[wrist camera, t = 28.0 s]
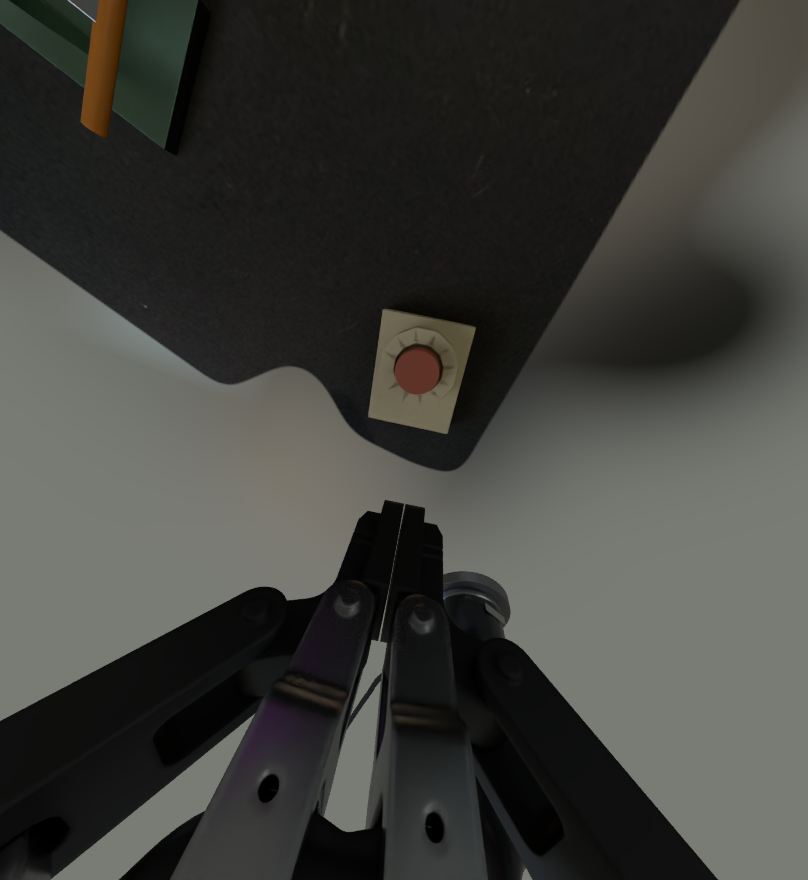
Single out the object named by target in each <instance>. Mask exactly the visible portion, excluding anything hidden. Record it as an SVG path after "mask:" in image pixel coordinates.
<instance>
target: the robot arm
mask: <svg viewBox="0 0 808 880" xmlns="http://www.w3.org/2000/svg"><path fill="white" fill-rule="evenodd" d="M403 507H404V504H403V503H398V502H393V501H388V500H385V501H384V505H383V508H382V512H381V513H375V512H371V511H367V512H366V513H365V514H364V515H363V516H362V517H361V518H359V520H358V522H357V525H356V528H355V531H354V533H353V536H352V538H351V542H350V544H349V546H348V549H347V552H346V554H345V557H344V560H343V562H342V565H341V568H340V571H339V573H338V576H337V578H336V580H335V582H334V583H333V585H332V586H330V587H329V588H328V589H327V590H326V591H325V592H324V593H322V594H320V595H318V596H315V597H312V598H307V599H298V600H289V601H287V600H286V598H285V596H284V595H283V593H282V592H280V591H279V590H277V589H275V588H272V587H258V588H253V589H250V590H248V591H246V592H244V593H242V594H240V595H238V596H236V597H234V598H232V599H231V600H229V601H227V602H225V603H223V604H221V605H219V606H217V607H215V608H214V609H212V610H210V611H208V612H206V613H204V614H202V615H200V616H198V617H196V618H195V619H193V620H191V621H189V622H187V623H185V624H183V625H181V626H179V627H178V628H176V629H174V630H172V631H170V632H168V633H166V634H164V635H163V636H160V637H159V638H157V639H155V640H153V641H151V642H149V643H147V644H146V645H143V646H142V647H140V648H138V649H136V650H134V651H132V652H130V653H128V654H126V655H125V656H123V657H121V658H119V659H117V660H115V661H113V662H112V663H109V664H107V665H106V666H104V667H102V668H100V669H98V670H96V671H94V672H92V673H90V674H89V675H87V676H85V677H83V678H81V679H79V680H77V681H75V682H73V683H72V684H70V685H68V686H66V687H64V688H62V689H60V690H58V691H56V692H55V693H53V694H51V695H49V696H47V697H45V698H43V699H41V700H39V701H37V702H36V703H34V704H32V705H30V706H28V707H26V708H25V709H22V710H20V711H19V712H17V713H15V714H13V715H11V716H9V717H7V718H5V719H3V720H1V721H0V880H51V879H52V878H53V877H54V876H55V875H57V874H58V873H59V872H60V871H62V870H63V869H64V868H65V867H66V866H68V865H69V864H70V863H71V862H73V861H74V860H75V859H76V858H78V857H79V856H80V855H81V854H82V853H84V852H85V851H86V850H87V849H89V848H90V847H91V846H92V845H93V844H95V843H96V842H97V841H98V840H100V839H101V838H102V837H103V836H105V835H106V834H107V833H108V832H110V831H111V830H112V829H113V828H114V827H116V826H117V825H118V824H119V823H121V822H122V821H123V820H124V819H126V818H127V817H128V816H129V815H130V814H132V813H133V812H134V811H135V810H137V809H138V808H139V807H140V806H142V805H143V804H144V803H145V802H146V801H148V800H149V799H150V798H151V797H153V796H154V795H155V794H156V793H158V792H159V791H160V790H161V789H162V788H164V787H165V786H166V785H167V784H169V783H170V782H171V781H172V780H174V779H175V778H176V777H177V776H178V775H180V774H181V773H182V772H183V771H185V770H186V769H187V768H188V767H190V766H191V765H192V764H193V763H194V762H196V761H197V760H198V759H199V758H201V757H202V756H203V755H204V754H205V753H207V752H208V751H209V750H210V749H212V748H213V747H214V746H215V745H217V744H218V743H219V742H220V741H222V740H223V739H224V738H225V737H226V736H228V735H229V734H230V733H231V732H233V731H234V730H235V729H236V728H238V727H239V726H240V725H241V724H242V723H244V722H245V721H246V720H247V719H249V718H250V717H251V716H252V715H254V714H255V716H254V718H253V719H252V721H251V723H250V725H249V727H248V729H247V731H246V733H245V735H244V737H243V739H242V741H241V743H240V745H239V747H238V748H237V750H236V752H235V754H234V756H233V758H232V760H231V762H230V764H229V766H228V768H227V770H226V772H225V774H224V776H223V778H222V779H221V782H220V784H219V785H218V787H217V789H216V791H215V793H214V795H213V797H212V799H211V801H210V803H209V805H208V807H207V809H206V811H204V812H202V813H200V814H198V815H196V816H194V817H193V818H191V819H190V820H188V821H187V822H185V823H184V824H182V825H181V826H179V827H178V828H176V829H175V830H174V831H173V832H171V833H170V834H169V835H167V836H166V837H165V838H164V839H162V840H161V841H160V842H159V843H158V844H157V845H155V846H154V847H153V848H152V849H151V850H150V851H149V852H148V853H147V854H146V855H145V856H144V857H143V858H141V859H140V860H139V861H138V862H137V863H136V864H135V865H134V866H133V867H132V868H131V869H130V870H129V871H128V872H127V873H126V874H125V875H124V876H122V878H120V879H119V880H522V875H523V872H524V870H525V869H526V868H527V870H528V872H529V874H530V876H531V877H532V879H533V880H718V879H717V878H716V877H715V876H714V874H713V873H712V872H711V871H710V870H709V869H708V867H707V866H706V865H705V864H704V863H703V861H702V860H701V859H700V858H699V857H698V856H697V854H696V853H695V852H694V851H693V850H692V848H691V847H690V846H689V845H688V844H687V843H686V842H685V840H684V839H683V838H682V837H681V836H680V834H679V833H678V832H677V831H676V830H675V829H674V827H673V826H672V825H671V824H670V822H669V821H668V820H667V819H666V818H665V817H664V815H663V814H662V813H661V812H660V811H659V810H658V808H657V807H656V806H655V805H654V804H653V802H652V801H651V800H650V799H649V798H648V797H647V795H646V794H645V793H644V792H643V791H642V790H641V788H640V787H639V786H638V785H637V784H636V782H635V781H634V780H633V779H632V778H631V777H630V775H629V774H628V773H627V772H626V771H625V769H624V768H623V767H622V766H621V765H620V763H619V762H618V761H617V760H616V759H615V758H614V756H613V755H612V754H611V753H610V752H609V751H608V749H607V748H606V747H605V746H604V745H603V743H602V742H601V741H600V740H599V739H598V737H597V736H596V735H595V734H594V733H593V732H592V730H591V729H590V728H589V727H588V726H587V725H586V723H585V722H584V721H583V720H582V719H581V717H580V716H579V715H578V714H577V713H576V712H575V711H574V709H573V708H572V707H571V706H570V705H569V703H568V702H567V701H566V700H565V699H564V697H563V696H562V695H561V694H560V693H559V691H558V690H557V689H556V688H555V687H554V686H553V684H552V683H551V682H550V681H549V680H548V679H547V677H546V676H545V675H544V674H543V673H542V671H541V670H540V669H539V668H538V667H537V666H536V664H535V663H534V662H533V661H532V660H531V659H530V657H529V656H528V655H527V654H526V653H525V652H524V650H523V649H521V648H520V647H519V646H518V645H516V644H515V643H513V642H512V641H509V640H507V639H505V636H504V631H503V625H502V623H503V624H505V619H504V617H503V616H502V615H501V610H500V607H499V605H498V603H497V602H496V601H495V599H493V598H492V597H491V596H490V595H488V594H486V593H484V592H482V591H479V590H475V589H469V588H458V589H452V590H449V591H446V592H444V593H443V551H442V549H443V536H442V534H441V532H440V530H439V529H438V527H437V525H435V524H430V523H425V522H424V516H425V508H423V507H418V506H413V505H408V504H406V505H405V510H404V515H403V519H402V524H401V529H400V523H401V518H402V512H403ZM399 529H400V534H399ZM398 535H399V539H398ZM397 540H398V544H397ZM396 546H397V550H396ZM395 551H396V555H395ZM394 557H395V560H394ZM393 563H394V566H393ZM392 568H393V572H392ZM391 574H392V577H391ZM390 580H391V583H390ZM389 585H390V589H389ZM388 590H389V595H388ZM387 595H388V600H387ZM386 600H387V606H386V612H385V617H384V623H383V628H382V634H381V640H380V641H381V642H386V643H387V648H386V654H385V660H384V665H383V669H382V673H381V674H380V675H379V676H378V677H377V678H376V679H375V680H374V682H373V683H372V685H371V686H370V688H369V689H368V691H367V693H366V694H365V695H364V697H363V698H362V699H361V701H360V702H359V704H358V705H357V707H356V709H355V710H354V711H353V713H352V715H351V711H352V708H353V704H354V701H355V697H356V694H357V690H358V686H359V683H360V679H361V676H362V672H363V668H364V667H365V665H366V663H367V659H368V654H369V649H370V645H371V640H376V641H378V638H379V634H380V628H381V624H382V619H383V614H384V609H385V605H386ZM505 625H506V624H505ZM380 681H381V686H380V696H379V708H378V719H377V730H376V741H375V752H374V762H373V771H372V778H371V784H370V791H369V800H368V808H367V818H366V829H365V830H360V831H354V832H345V831H342V830H340V829H339V828H338V827H336V826H335V825H333V824H332V823H331V822H329V821H328V820H327V819H325V818H324V817H323V816H324V813H325V809H326V806H327V802H328V798H329V795H330V791H331V787H332V783H333V779H334V774H335V771H336V766H337V762H338V758H339V755H340V751H341V747H342V744H343V740H344V737H345V733H346V730H347V729H348V727H349V725H350V724H351V722H352V721H353V719H354V718H355V716H356V715H357V713H358V712H359V710H360V709H361V708H362V706H363V704H364V703H365V702H366V700H367V699H368V698H369V696H370V695H371V693H372V692H373V690H374V689H375V687H376V686H377V684H378V683H379V682H380ZM350 715H351V716H350Z"/></svg>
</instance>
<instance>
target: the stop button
mask: <svg viewBox="0 0 808 880" xmlns="http://www.w3.org/2000/svg"><path fill="white" fill-rule="evenodd" d="M439 372H440V366H439V361H438V359H437V357H436V356H435V354H434V353H433V352H432V351H430V350H429V349H426V348H423V347H414V348H411V349H409V350H407V351H406V352H404V353H403V354H402V356H401V357H400V358H399V360H398V362H397V364H396V367H395V377H396V380H397V383H398V384H399V386H400V387H401V388H402V389H403V390H404V391H406V392H408V393H410V394H415V395H419V394H424V393H427V392H429V391H430V390H431V389H433V388H434V386H435V385H436V383H437V381H438V379H439Z"/></svg>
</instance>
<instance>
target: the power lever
mask: <svg viewBox="0 0 808 880" xmlns="http://www.w3.org/2000/svg"><path fill="white" fill-rule="evenodd" d="M67 1H69V2H70V3H71V4H72V5H74V6H75V7H76V8H77V9H79V10H80V11H81V12H82V13H84V14H85V15H86V16H87V17H89V18H90V19H91V20H92V21H93V22H92V30H91V39H90V47H89V55H88V64H87V72H86V81H85V89H84V97H83V106H82V114H81V123H82V124H83V125H84V126H86V127H87V128H89V129H90V130H92V131H93V132H95V133H97V134H98V135H100V136H102V137H104V138H108V132H109V125H110V119H111V112H112V106H113V99H114V93H115V86H116V80H117V73H118V67H119V60H120V54H121V47H122V41H123V34H124V28H125V21H126V15H127V9H128V2H129V0H67Z"/></svg>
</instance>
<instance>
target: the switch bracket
mask: <svg viewBox="0 0 808 880" xmlns="http://www.w3.org/2000/svg"><path fill="white" fill-rule="evenodd" d="M210 14H211V13H210V12H209V10H208V9H207V8H206V7H205V5H204V4H203V3H202V2H201V0H129V2H128V9H127V15H126V21H125V28H124V34H123V41H122V47H121V54H120V60H119V67H118V73H117V80H116V86H115V93H114V99H113V106H112V110H114V111H115V112H116V113H118V114H119V115H120V116H121V117H123V118H124V119H125V120H127V121H128V122H129V123H131V124H132V125H133V126H135V127H136V128H137V129H138V130H140V131H141V132H142V133H144V134H145V135H146V136H148V137H149V138H150V139H151V140H153V141H154V142H155V143H157V144H158V145H159V146H161V147H162V148H163V149H165V150H167V151H168V152H170V153H172V154H174V155H177V150H178V146H179V142H180V138H181V134H182V130H183V126H184V122H185V117H186V113H187V109H188V105H189V101H190V97H191V93H192V89H193V84H194V80H195V76H196V72H197V68H198V64H199V60H200V56H201V51H202V47H203V43H204V39H205V35H206V31H207V27H208V23H209V18H210ZM92 22H93V21H92V20H91V19H90V18H89V17H87V16H86V15H85V14H84V13H82V12H81V11H80V10H79V9H77V8H76V7H75V6H74V5H72V4H71V3H70V2H69V1H67V0H0V24H2V25H3V26H4V27H5V28H7V29H8V30H9V31H11V32H12V33H13V34H15V35H16V36H17V37H18V38H20V39H21V40H22V41H24V42H25V43H26V44H28V45H29V46H30V47H31V48H33V49H34V50H35V51H37V52H38V53H39V54H41V55H42V56H43V57H45V58H46V59H47V60H48V61H50V62H51V63H52V64H54V65H55V66H56V67H58V68H59V69H60V70H61V71H63V72H64V73H65V74H67V75H68V76H69V77H71V78H72V79H73V80H75V81H76V82H77V83H78V84H80V85H81V86H82V87H84V88H85V81H86V72H87V64H88V55H89V47H90V39H91V30H92Z"/></svg>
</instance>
